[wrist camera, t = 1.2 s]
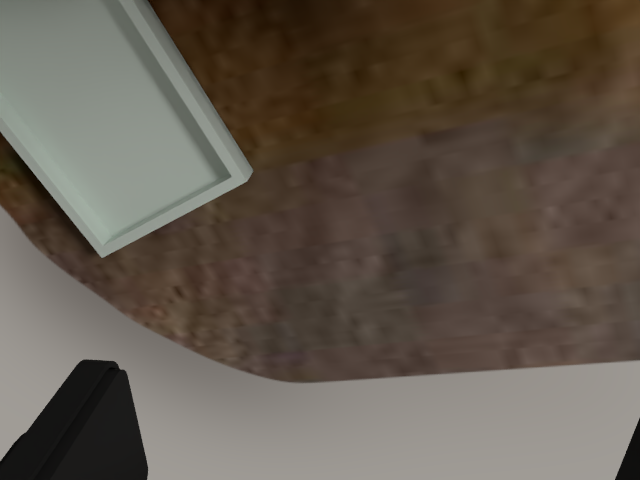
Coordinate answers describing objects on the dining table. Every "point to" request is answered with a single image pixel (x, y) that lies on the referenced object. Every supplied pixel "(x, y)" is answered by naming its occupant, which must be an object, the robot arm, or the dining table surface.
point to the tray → (110, 116)
